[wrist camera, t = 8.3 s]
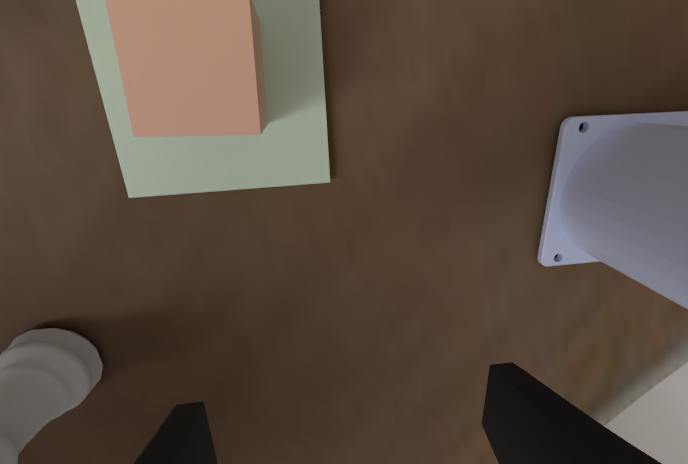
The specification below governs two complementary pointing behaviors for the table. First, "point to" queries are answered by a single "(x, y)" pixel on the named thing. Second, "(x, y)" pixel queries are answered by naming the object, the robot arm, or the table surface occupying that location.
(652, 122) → the robot arm
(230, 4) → the terracotta brick
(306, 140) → the base tile
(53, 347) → the rook chess piece
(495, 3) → the table surface
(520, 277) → the table surface
